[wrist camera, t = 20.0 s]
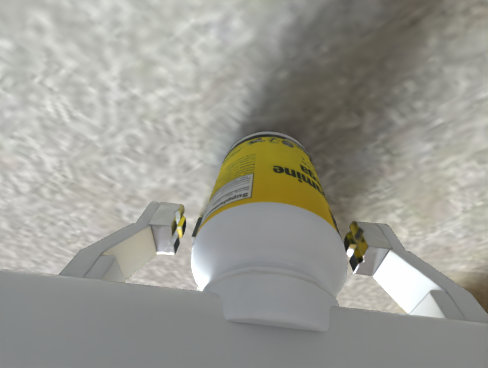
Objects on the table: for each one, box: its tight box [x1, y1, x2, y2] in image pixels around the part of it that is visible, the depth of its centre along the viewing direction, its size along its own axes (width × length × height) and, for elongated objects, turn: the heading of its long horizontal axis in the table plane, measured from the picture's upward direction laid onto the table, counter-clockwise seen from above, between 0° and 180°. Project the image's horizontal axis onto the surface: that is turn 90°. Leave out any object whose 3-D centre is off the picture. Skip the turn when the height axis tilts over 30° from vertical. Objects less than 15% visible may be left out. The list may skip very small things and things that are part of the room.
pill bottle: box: [191, 132, 348, 332], centre depth 11 cm, size 6×6×11 cm
